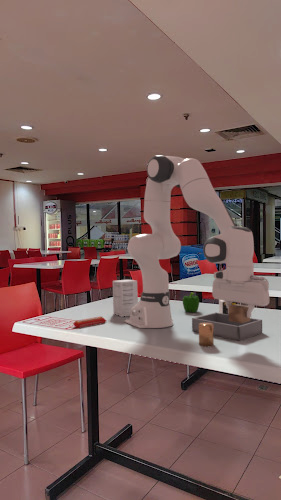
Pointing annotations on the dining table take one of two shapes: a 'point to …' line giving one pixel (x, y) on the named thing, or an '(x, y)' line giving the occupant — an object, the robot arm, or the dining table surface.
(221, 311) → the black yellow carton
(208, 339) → the copper tin
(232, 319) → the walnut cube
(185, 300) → the bell pepper
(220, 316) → the box
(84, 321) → the candy bar
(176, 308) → the dining table surface
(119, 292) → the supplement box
